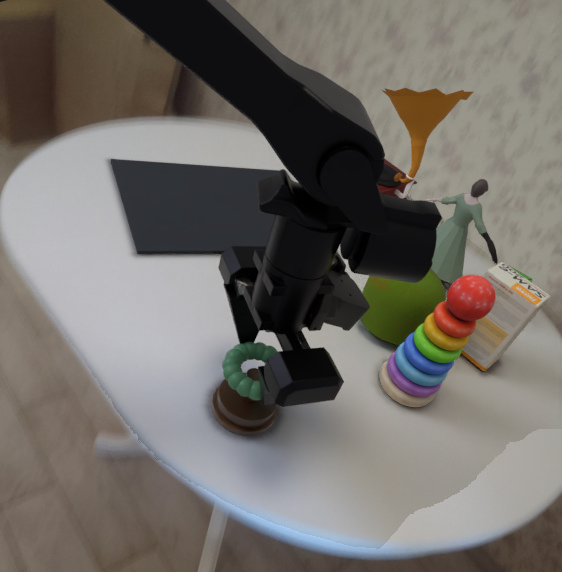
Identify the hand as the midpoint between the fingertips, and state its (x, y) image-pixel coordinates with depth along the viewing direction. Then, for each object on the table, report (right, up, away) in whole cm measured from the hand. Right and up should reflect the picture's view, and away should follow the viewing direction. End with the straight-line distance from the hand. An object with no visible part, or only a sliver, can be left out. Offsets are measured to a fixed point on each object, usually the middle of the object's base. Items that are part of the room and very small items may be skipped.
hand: (256, 375), depth 55 cm
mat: (-7, +28, +30) cm, 41 cm away
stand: (-2, -4, +4) cm, 6 cm away
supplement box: (+31, +4, +23) cm, 39 cm away
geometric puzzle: (+40, +12, +33) cm, 53 cm away
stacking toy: (+19, -2, +14) cm, 24 cm away
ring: (0, 0, 0) cm, 0 cm away
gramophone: (+19, +31, +43) cm, 56 cm away
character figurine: (+28, +16, +33) cm, 46 cm away
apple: (+18, +7, +21) cm, 29 cm away
